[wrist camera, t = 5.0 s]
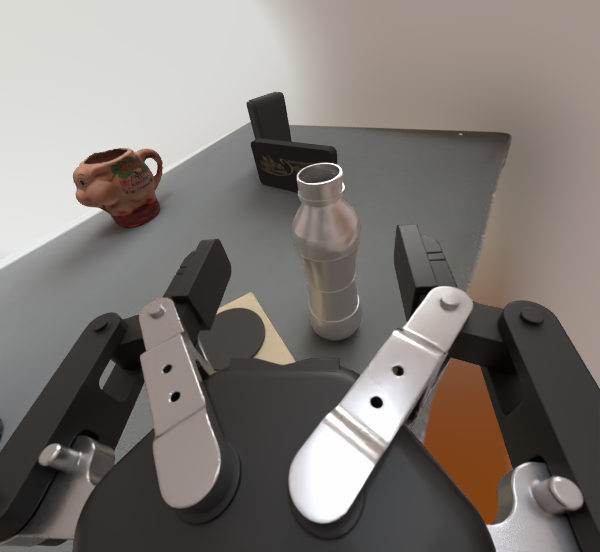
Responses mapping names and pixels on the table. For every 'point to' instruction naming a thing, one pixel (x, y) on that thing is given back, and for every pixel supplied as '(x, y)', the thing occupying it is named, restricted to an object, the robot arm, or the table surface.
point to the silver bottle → (328, 250)
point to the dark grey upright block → (269, 117)
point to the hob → (243, 335)
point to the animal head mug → (120, 184)
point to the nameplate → (287, 160)
